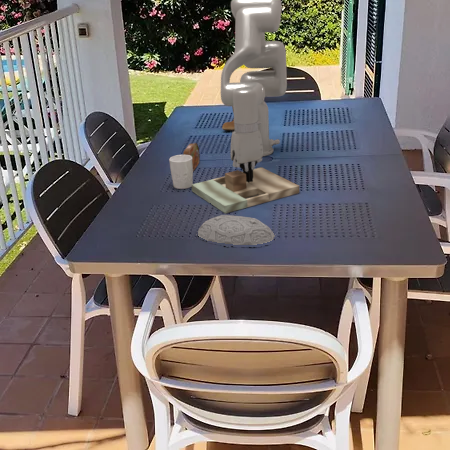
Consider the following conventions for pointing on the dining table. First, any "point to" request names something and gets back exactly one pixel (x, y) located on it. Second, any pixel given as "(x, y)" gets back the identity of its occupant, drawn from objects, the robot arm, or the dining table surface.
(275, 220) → the dining table surface
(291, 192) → the board
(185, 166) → the white cup
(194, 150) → the tin
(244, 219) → the embossed grey dome
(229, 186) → the walnut block
